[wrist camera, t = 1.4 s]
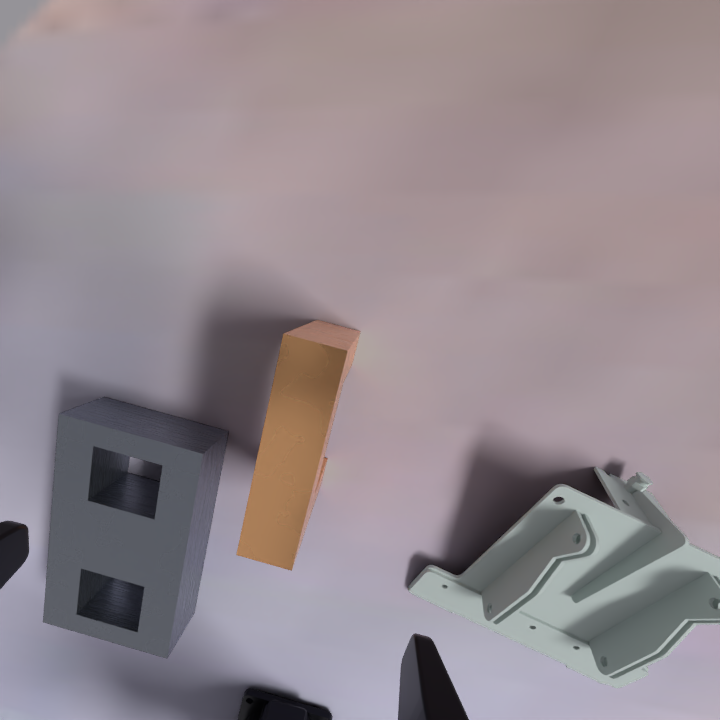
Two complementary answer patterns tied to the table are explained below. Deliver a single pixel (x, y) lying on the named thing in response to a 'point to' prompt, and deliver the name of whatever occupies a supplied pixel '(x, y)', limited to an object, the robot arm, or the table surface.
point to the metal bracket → (588, 582)
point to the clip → (295, 440)
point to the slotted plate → (129, 523)
